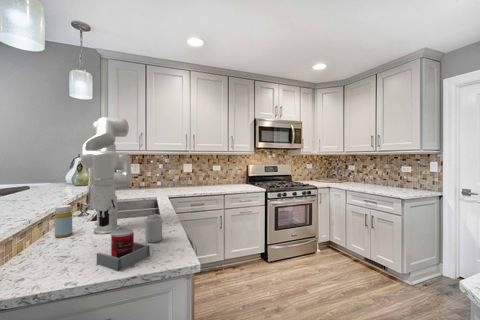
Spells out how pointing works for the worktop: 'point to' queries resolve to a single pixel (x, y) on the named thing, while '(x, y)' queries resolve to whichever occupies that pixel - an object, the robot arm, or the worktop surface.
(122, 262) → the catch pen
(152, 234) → the can
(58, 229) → the bottle
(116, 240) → the canned food
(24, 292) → the worktop surface
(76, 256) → the worktop surface
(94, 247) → the worktop surface
